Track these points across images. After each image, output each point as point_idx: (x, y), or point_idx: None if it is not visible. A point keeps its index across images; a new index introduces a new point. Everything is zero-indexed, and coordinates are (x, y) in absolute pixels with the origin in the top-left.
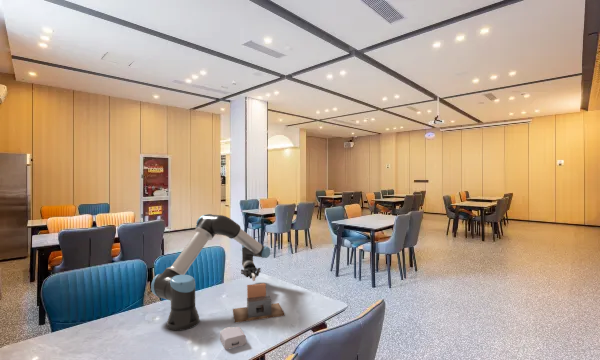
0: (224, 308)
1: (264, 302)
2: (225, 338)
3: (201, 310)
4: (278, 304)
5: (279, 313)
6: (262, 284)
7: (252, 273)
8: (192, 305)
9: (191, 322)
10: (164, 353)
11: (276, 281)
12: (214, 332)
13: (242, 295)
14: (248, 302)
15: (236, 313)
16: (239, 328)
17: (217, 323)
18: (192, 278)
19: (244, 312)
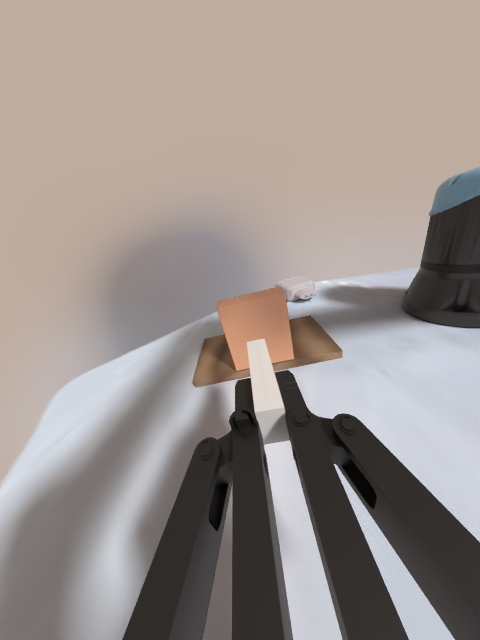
0: (395, 376)
1: None
2: (299, 276)
3: None
4: (198, 372)
5: (214, 337)
6: (227, 301)
7: (270, 396)
8: (422, 259)
9: (406, 291)
10: (381, 273)
11: None
12: (337, 301)
13: (419, 615)
14: None
15: (316, 332)
16: (286, 286)
17: (351, 316)
18: (462, 173)
19: (295, 336)
